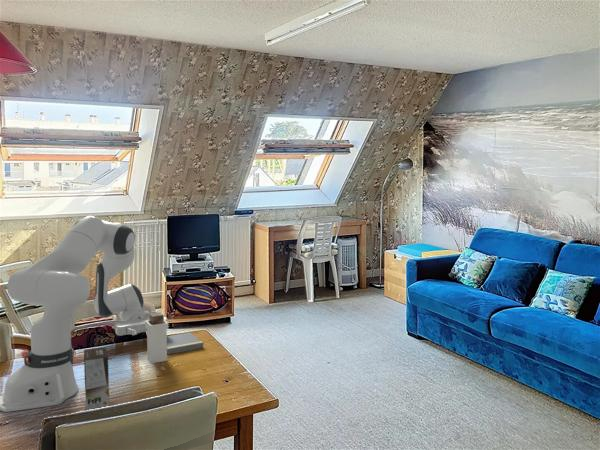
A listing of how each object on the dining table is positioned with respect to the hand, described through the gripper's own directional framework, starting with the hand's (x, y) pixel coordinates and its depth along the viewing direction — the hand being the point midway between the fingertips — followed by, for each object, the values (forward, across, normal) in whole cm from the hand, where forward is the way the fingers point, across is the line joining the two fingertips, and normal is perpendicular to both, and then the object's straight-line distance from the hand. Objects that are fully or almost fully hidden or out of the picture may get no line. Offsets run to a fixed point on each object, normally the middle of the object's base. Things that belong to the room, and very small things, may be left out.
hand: (147, 331), depth 200 cm
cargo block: (+12, 0, -6) cm, 13 cm away
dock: (+2, +12, +7) cm, 14 cm away
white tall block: (+12, 0, +7) cm, 14 cm away
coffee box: (+38, -26, +7) cm, 47 cm away
